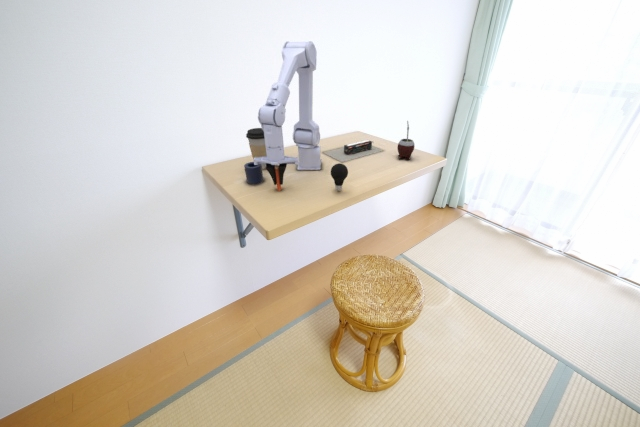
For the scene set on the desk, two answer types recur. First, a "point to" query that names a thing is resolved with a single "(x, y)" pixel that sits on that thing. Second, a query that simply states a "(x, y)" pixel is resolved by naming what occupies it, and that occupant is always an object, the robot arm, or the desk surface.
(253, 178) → the navy hollow cylinder
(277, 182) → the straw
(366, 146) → the model train on plate
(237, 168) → the desk surface
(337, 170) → the light bulb
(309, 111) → the robot arm
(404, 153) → the mate gourd
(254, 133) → the coffee cup
